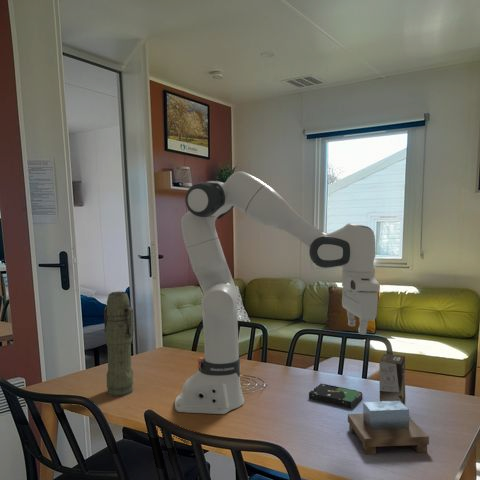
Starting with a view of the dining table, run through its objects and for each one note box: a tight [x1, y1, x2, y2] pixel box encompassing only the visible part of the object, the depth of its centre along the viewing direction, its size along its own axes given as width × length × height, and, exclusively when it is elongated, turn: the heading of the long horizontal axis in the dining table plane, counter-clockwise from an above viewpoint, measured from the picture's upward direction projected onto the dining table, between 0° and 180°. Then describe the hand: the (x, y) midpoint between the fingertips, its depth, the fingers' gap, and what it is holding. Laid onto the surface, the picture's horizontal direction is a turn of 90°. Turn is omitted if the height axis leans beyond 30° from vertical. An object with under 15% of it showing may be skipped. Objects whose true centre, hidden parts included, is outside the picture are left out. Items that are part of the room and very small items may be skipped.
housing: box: [362, 400, 410, 430], centre depth 109 cm, size 10×6×5 cm, turn 93°
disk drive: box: [308, 382, 363, 410], centre depth 136 cm, size 10×3×15 cm
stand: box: [347, 413, 430, 455], centre depth 109 cm, size 16×14×4 cm
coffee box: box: [379, 353, 406, 406], centre depth 126 cm, size 9×6×16 cm
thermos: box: [103, 291, 134, 398], centre depth 145 cm, size 9×12×35 cm
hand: (356, 329), depth 117 cm, fingers open, 8 cm apart
